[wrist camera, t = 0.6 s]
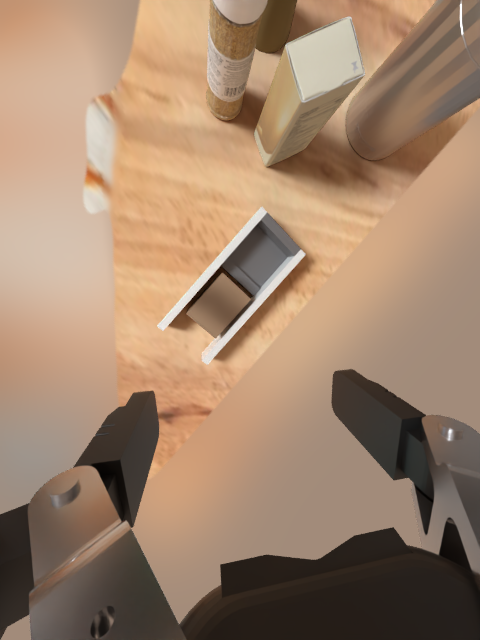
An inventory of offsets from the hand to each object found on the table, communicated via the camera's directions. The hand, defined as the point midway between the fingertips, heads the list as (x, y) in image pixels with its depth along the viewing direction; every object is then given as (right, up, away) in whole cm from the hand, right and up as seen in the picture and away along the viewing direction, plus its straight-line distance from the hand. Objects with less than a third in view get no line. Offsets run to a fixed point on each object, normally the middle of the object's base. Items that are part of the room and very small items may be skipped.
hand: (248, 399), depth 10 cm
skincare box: (+5, +27, +20) cm, 34 cm away
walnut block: (-4, +6, +23) cm, 24 cm away
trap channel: (-2, +8, +23) cm, 24 cm away
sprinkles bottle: (-2, +31, +18) cm, 36 cm away
